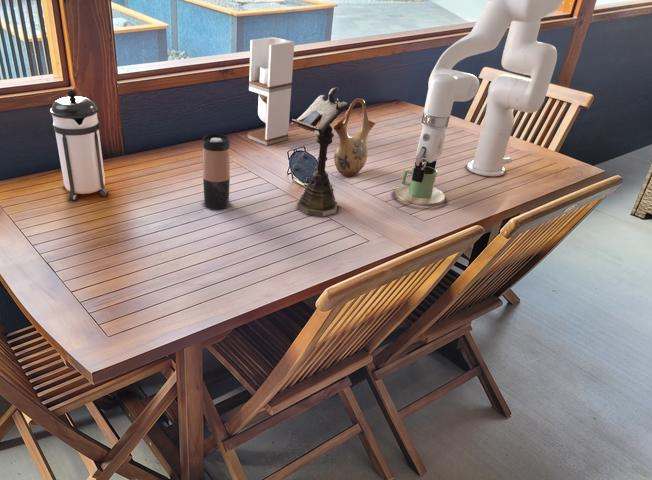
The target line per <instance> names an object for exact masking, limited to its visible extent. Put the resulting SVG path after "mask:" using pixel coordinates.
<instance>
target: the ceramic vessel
mask: <svg viewBox="0 0 652 480" xmlns="http://www.w3.org/2000/svg"><path fill="white" fill-rule="evenodd" d="M357 103H360V104H361V108H362V121H361V126H360V129H359V130H358V132H356V134H354V135H349V134H348V124H349V120H350V117H351V114H352V111H353V108H354V106H355V105H356V104H357ZM366 107H367V106H366V101H365V100H364V99H363V98H360V97H357V98H355V99H353V101H351V103H350V104H349V106H348V109H347V110H346V112H345V114H344V116H342V118H341V119H340V120H339V121H338V122H337V123H336V125H334V126H333V131H335V132H336V134H337V136H338V140H339V142H338V144H337V146H336V148H335V151H334V156H333V157H334V158H333V161H334V166H335V168H336V170H337V172H339V174H341V175H342V176H344V177H345V176H346V177H351V176H355V175H357V174H358V173H359V172H360V171H361V170H362V169H363V168H364V166H365V165H366V163H367V160H368V156H369V149H368V143H367V139H368V136H369V134H370V131H372V128H373V127H374V126H375V125H376V122H374V121H371V120H369V117H368V112H367V108H366Z"/></svg>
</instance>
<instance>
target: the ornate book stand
mask: <svg viewBox="0 0 652 480" xmlns="http://www.w3.org/2000/svg"><path fill="white" fill-rule="evenodd" d="M339 89H340V88H339V86H338V87H337V86H336V87H332V88H331V89H330V90H329V92H328V99H327V100H325V98H326V95H324V94H320V95H319V96H318V97H317V98H315V100H314V101H313V102H312V104H310V105H309V107H308V108H307V109H306V110H305V111H304V112H303V113H302V114H301V115H300V116H299V117H298V118H296V119H295V118H292V119H291V122H292V123H291V124H290V126H291V127H292V126H293V125H294V124H297V127H299V128H301V129H303V130H305V131H309V132H312V133H315V136H316V140H315V141H316V143H317V144H318V146H319V149H318V156H317V158H316V160H317V169H316V170H315V171H314V172H313V174H312V178H311V179H310V181H309V182H307V184H306V186H305V188H304V191H303V194H301V197H300V198H299V200H298V203H297V210H299V211H301V212H302V213H304V214H306V215H308V216H314V217H327V216H331V215H334V214H336V213H337V208H338V202H337V201H336V197H335V193H334V191H335V190H334V188H333V185H332V184H331V182H330V177H329V173H328V172H327V171H326V166H327V165H326V162H328V159H329V158H328V157H327V155H328V147H329V146H330V145H332V143H333V138H334V137H335V133H334V132H333V131H334V128H333V127H332V126H331V124H333V122H334V121H335V120H337V118H338V117H339V116H340V115H341V114H342V113H343V112H344V111H345V110H346V109H347V107H349V106H348V105H349V104H348V103H347V102H346V101H339V98H338V97H337V98H335V95H336V93H337V92H338V91H339ZM317 125H318V126H317ZM315 131H316V132H315Z"/></svg>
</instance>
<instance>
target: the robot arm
mask: <svg viewBox="0 0 652 480" xmlns="http://www.w3.org/2000/svg"><path fill="white" fill-rule="evenodd" d="M563 2H564V0H488V1H487V3H486V5H485V6H484V8H483V10H482V12H481V14H479V17H478V19H477V20H476V22H475V24H474V26H473V27H472V30H471V31H470V32H469V33H468V34H467V35H465V36H464V37H463V36H462V37H461V38H460V39H459V40H457V41H455V42H454V43H453V44H452V45H450V46H449V47H447V48H446V50H444V51H443V52H442V54H441V55H440V56H439V58H438V60H437V61H436V64H435V66H434V67H433V69H432V71H431V73H430V76H429V78H428V84H427V86H428V89H427V93H426V98H425V103H424V107H423V113H422V118H421V121H420V125H421V126H422V129H421V131H420V137H419V140H418V143H417V148H416V154H415V162H414V166H413V167H414V171H413V176H412V175H411V178H412V181H416V182H420V183H421V182H422V181H423V177H424V173H425V170H424V168H425V166H427V167H431V168H434V169H436V166H437V161H438V159H439V158H440V157H441V156H442V154H443V148H444V142H445V137H446V131H447V128H449V123H450V118H451V114H452V110H453V106H454V102H461V103H463V102H469V101H470V100H472V99H474V98H475V97H476V95H477V94H478V92H479V89H480V80H479V78H477V76H475V75H474V74H471V73H468V72H464V71H460V70H455V69H453V68H454V67H455V66H456V65H457V64H458V63H459V62H461V61H463V60H464V59H466V58H469V57H472V56H477V55H480V54H483V53H487V52H491V51H493V50H494V49H496V48H497V47H498V45H499V44H500V42H501V40H502V38H503V37H504V35H505V33H506V32H507V30H508V28H509V30H508V33H507V36H506V40H505V44H504V48H503V52H502V56H501V66H502V68H503V69H504V70H506V71H508V72H513V73H516V74H522V75H525V76H526V75H527V76H530V79H528V78H524V77H520V76H515V75H509V74H501V75H497V76H495V78H493V79H492V80H491V82H490V83H489V86H488V90H487V101H486V107H485V113H484V117H483V121H482V124H481V125H482V126H481V129H480V133H479V137H478V141H477V144H476V149H475V152H474V157H473V160H472V161H469V162H467V165H466V169H467V170H468V171H469V172H471V173H473V174H476V175H480V176H483V177H500V176H503V175H504V174H505V171H506V169H505V167H504V166H505V165H506V164H507V165H508V164H511V163H512V161H513V159H512V157H505V155H506V152H507V147H508V144H509V141H510V138H511V135H512V131H513V128H514V124H515V117H514V116H515V115H514V112H513V110H515V111H519V112H522V113H527V114H534V113H536V112H538V111H539V110H540V109H541V108H542V106H543V104H544V101H545V99H546V96H547V93H548V91H549V87H550V85H551V84H550V83H551V81H552V77H553V74H554V71H555V68H556V65H557V61H558V51H557V48H556V46H554V45H553V44H550V43H547V42H546V43H545V42H541V41H538V37H539V33H540V32H539V31H540V29H541V24H542V20H541V19H544V18H546V17H547V16H549V15H551V14H553V13H555V12H556V11H557V10H559V8H560V7H561V5H562V4H563Z"/></svg>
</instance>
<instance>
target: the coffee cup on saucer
mask: <svg viewBox="0 0 652 480" xmlns="http://www.w3.org/2000/svg"><path fill="white" fill-rule="evenodd" d="M424 170H425V173H424V177H423V181H422V182H421V183H420V182H416V181H412V176H413V171H414V166H413V167H412V169H411V170H410V169H407V168H405V169H404V170H403V173H402V179H401V185H399V186H397V187H396V189H395V191H394V194H395V196H396V197H397V198H398V199H399V200H401V201H404V202H406V203H409V204H413V205H417V206H427V207H429V206H437V205H440V204H442V203H443V202H444V201H445V199H446V195H445V194H444V193H443V191H442V190H440V189H438V188H436V187H435V181H436V177H437V176H438V174H439V171H438V170H437V169H436V168H435V169H434V168H431V167H427V166H425V168H424ZM408 174H409V175H411V178H410V182H408V181H407V177H408Z"/></svg>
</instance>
